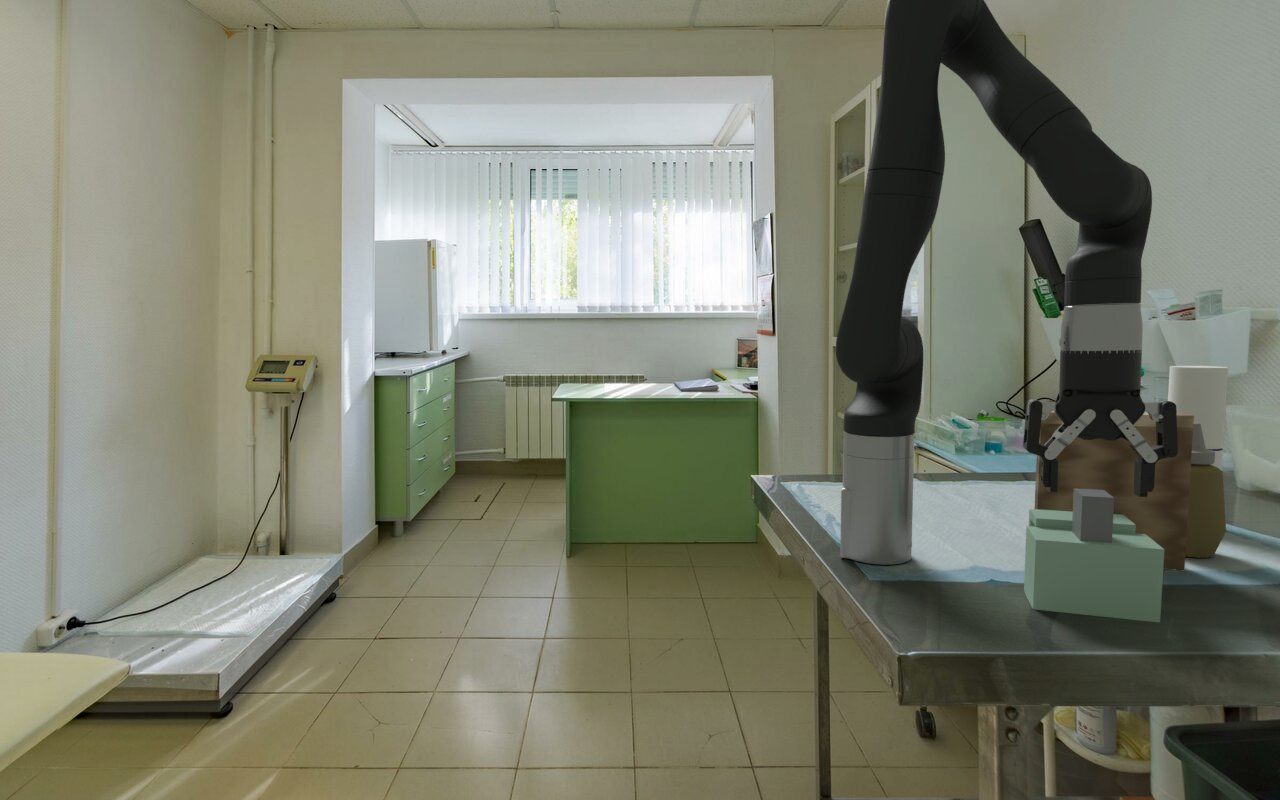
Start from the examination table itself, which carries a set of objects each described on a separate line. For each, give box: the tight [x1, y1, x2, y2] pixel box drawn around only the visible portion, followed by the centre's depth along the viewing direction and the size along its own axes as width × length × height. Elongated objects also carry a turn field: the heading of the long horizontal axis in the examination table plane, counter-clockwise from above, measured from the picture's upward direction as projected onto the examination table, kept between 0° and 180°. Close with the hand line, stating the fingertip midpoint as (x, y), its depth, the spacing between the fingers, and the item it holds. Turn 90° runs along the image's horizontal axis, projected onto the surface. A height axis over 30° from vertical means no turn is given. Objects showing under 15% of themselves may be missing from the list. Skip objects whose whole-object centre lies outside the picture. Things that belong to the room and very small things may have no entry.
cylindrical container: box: [1167, 365, 1229, 471], centre depth 112 cm, size 7×7×25 cm
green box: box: [1023, 488, 1164, 623], centre depth 83 cm, size 12×11×13 cm
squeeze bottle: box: [1185, 423, 1227, 559], centre depth 99 cm, size 8×8×18 cm
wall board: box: [1034, 411, 1194, 571], centre depth 98 cm, size 17×7×20 cm, turn 71°
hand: (1095, 493), depth 80 cm, fingers open, 8 cm apart
